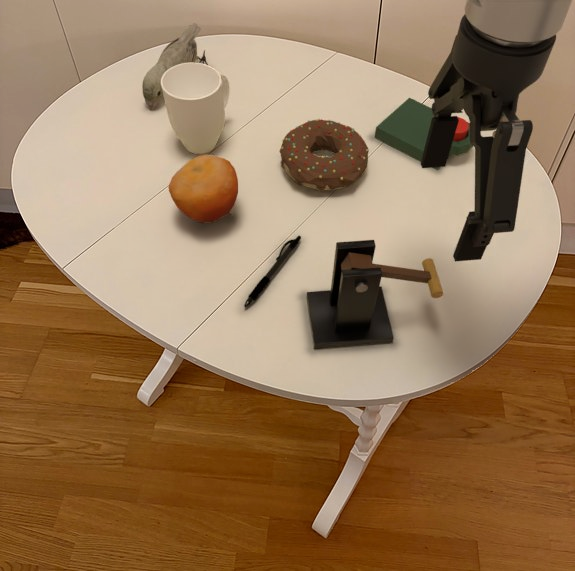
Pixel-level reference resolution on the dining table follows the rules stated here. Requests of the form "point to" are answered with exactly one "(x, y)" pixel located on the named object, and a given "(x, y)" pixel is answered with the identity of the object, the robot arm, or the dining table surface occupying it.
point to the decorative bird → (171, 63)
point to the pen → (272, 270)
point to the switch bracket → (350, 304)
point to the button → (461, 130)
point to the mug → (196, 104)
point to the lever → (398, 271)
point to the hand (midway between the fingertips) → (448, 208)
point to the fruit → (205, 188)
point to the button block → (414, 130)
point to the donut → (326, 169)
